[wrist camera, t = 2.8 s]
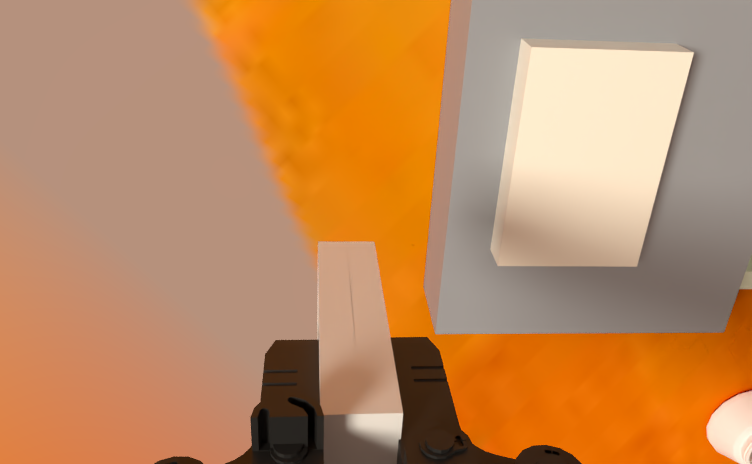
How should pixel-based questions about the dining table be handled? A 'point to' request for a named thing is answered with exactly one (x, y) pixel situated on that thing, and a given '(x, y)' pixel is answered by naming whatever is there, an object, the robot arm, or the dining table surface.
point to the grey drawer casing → (673, 198)
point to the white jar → (733, 428)
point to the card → (585, 150)
